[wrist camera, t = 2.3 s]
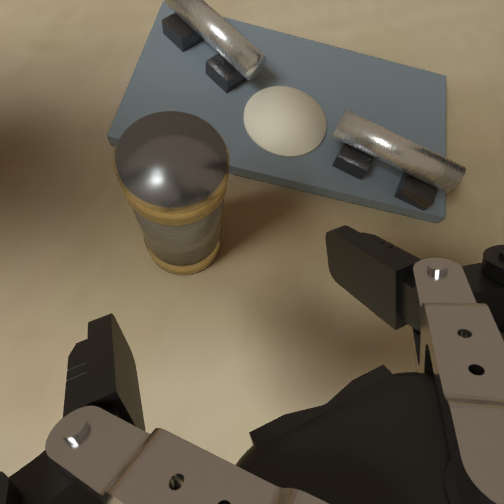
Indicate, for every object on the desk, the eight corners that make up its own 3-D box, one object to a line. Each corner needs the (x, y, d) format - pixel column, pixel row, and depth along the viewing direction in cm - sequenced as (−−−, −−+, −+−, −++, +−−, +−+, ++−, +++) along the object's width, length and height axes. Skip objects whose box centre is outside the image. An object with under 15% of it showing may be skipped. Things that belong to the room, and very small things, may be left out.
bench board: (110, 144, 26) (106, 134, 25) (164, 12, 31) (162, -2, 30) (437, 223, 27) (447, 216, 26) (439, 84, 32) (447, 74, 31)
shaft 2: (315, 167, 28) (334, 132, 24) (332, 133, 29) (352, 95, 25) (421, 219, 27) (458, 193, 23) (434, 183, 29) (471, 152, 25)
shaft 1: (266, 89, 30) (275, 44, 26) (234, 110, 29) (239, 67, 25) (193, 22, 31) (192, -30, 27) (160, 40, 30) (154, -11, 26)
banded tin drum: (138, 266, 23) (95, 191, 14) (159, 202, 25) (133, 97, 16) (210, 283, 24) (215, 219, 14) (226, 218, 25) (240, 124, 16)
